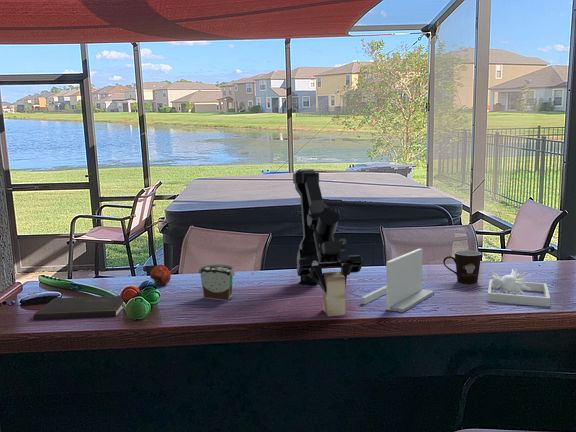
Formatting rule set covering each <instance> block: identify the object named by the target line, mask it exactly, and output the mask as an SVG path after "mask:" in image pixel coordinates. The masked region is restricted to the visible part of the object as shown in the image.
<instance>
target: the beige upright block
mask: <svg viewBox="0 0 576 432" xmlns="http://www.w3.org/2000/svg"><path fill="white" fill-rule="evenodd" d="M322 274H323V277H324V281H325V284H326V290H327V291H326V292H324V291H323V290H322V307H323V308H322V311H323V312H324V313H325V314H326V315H327V317H336V316H338V317H339V316H345V315H346V287H345V276H344V275H343V274H342V273H341V271H329V272H328V271H327V272H322Z"/></svg>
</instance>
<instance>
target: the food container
mask: <svg viewBox="0 0 576 432" xmlns="http://www.w3.org/2000/svg"><path fill="white" fill-rule="evenodd" d="M198 274H200V280H201V289H202V294H203V299H208V300H218V301H223V302H224V301H225V302H230V301H231V300H232V298H233V297H232V296H233V281H234V280H233V278H234V276H235V275H236V272H235V269H234V267H233V266H232V265H229V264H208V265H203V266H200V267H199V269H198Z"/></svg>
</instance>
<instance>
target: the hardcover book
mask: <svg viewBox="0 0 576 432" xmlns="http://www.w3.org/2000/svg"><path fill="white" fill-rule="evenodd" d="M109 296H110V295H104V296H101V295H99V296H80V297H55V298H53V299H52V300H50V301H49V302H48V303H46V304H45V305H43V307H41V308H40V309H39V310H37V311H36V312H35V313H34V314H33V321H47V320H49V321H51V320H53V321H54V320H74V319H75V320H76V319H94V318H95V319H97V318H116V317H117V315H118V314H119V312H121V310H122V309H123V307H124V306H123V307H122V304H123V302H124V300H123V299H122V298H121V296H122V295H115V296H116V297H117V298H114V297H109Z"/></svg>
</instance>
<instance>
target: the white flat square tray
mask: <svg viewBox="0 0 576 432" xmlns="http://www.w3.org/2000/svg"><path fill="white" fill-rule="evenodd" d="M491 283H493V284H495V282H494V279H489V283H488V290H487V302H493V303H501V304H502V303H503V304H516V305H525V306H538V307H546V308H547V307H550V306H551V295H550V291H549V288H548V283H543V282H542V283H541V282H533V281H532V282H530V281H528V282H527V281H524V282H520V283H523V284H525V285H526V286H527V287H530V288H531V289H530V290H528V289H526V288H520V289H521V290H522V291H528V292H529V291H531V292H542V293H543V295H544V296H537V295H535V296H534V295H526V294H525V295H524V294H519V295H517V294H515V293H514V294H512V293H510V294H505V293H498V292H495V293H494V292H493V287H492V285H491ZM496 286H498V284H496ZM498 289H500V286H499V288H498Z"/></svg>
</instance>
